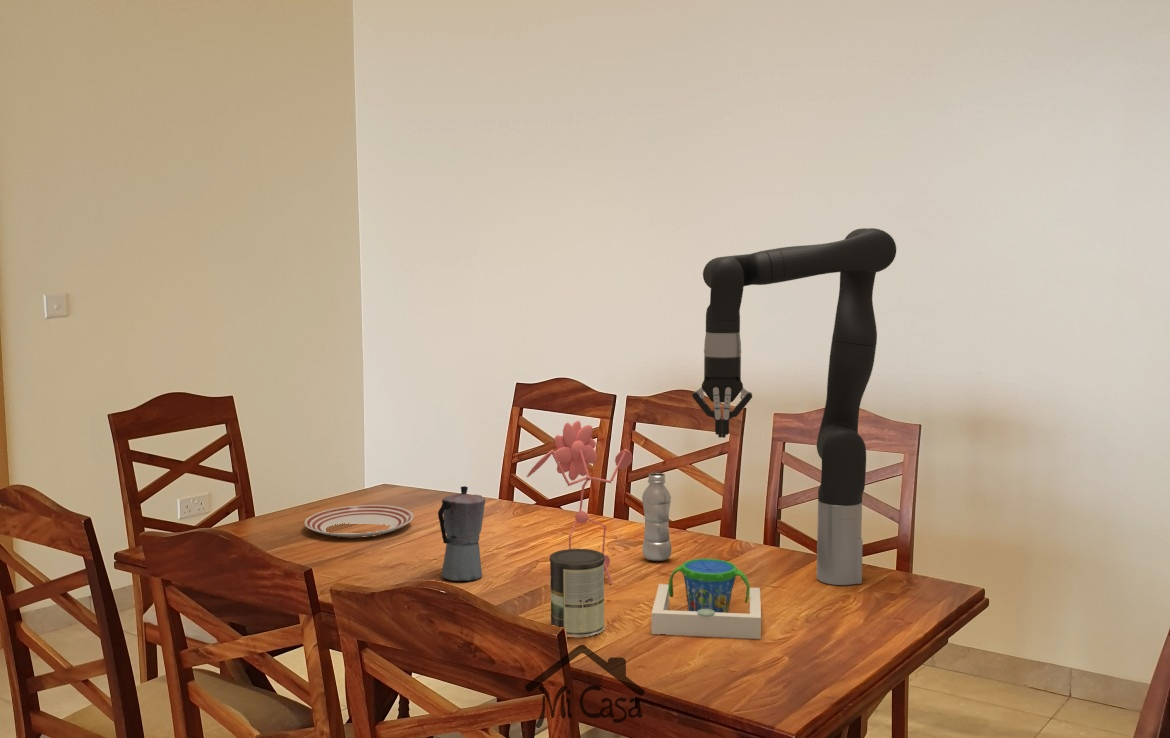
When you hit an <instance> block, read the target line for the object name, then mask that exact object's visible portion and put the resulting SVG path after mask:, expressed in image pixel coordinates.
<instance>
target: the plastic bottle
mask: <svg viewBox="0 0 1170 738" xmlns="http://www.w3.org/2000/svg"><path fill="white" fill-rule="evenodd" d="M647 483H649V484H648V486H647V487H646V488H645V489H644V491H643V493H642V496H641V500H642V507H643V513H644V514H643V516H644V536H643V542H642V555H643V556H644V558H645V560H649V561H653V562H654V561H655V562H662V561H667V560H669V558H670V557H671V554H672V543H671V539H670V529H669V520H670V519H669V518H670V509H671V508H670V507H671V502H672V501H671V499H672V496H671V494H670V491H669V490H668V488H667V486H666V485H665V483H666V474H665V473H662V472H651V473H649V474H648V480H647Z"/></svg>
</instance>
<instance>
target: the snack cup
mask: <svg viewBox="0 0 1170 738" xmlns="http://www.w3.org/2000/svg"><path fill="white" fill-rule="evenodd" d="M678 572H680V573H682V575H683V579H684V585H685V595H686V602H687V611H696V612H697V611H698V610H700V609H711V610H714V611H715V612H719V613H730V612H729V610H730V605H731V601H732V600H731V598H732V592H733V588H734V584H735V581H736V577H737V576H738V577H740V578H741V579H742V582H743V583H744V584H745V586H746V593H745V594H746V595H745V600H744V604H747V603H748V601H749V598H750V588H751V587H750V582H749V579H748V577H747V575H745V573H744V572H743V571H742V570H740V569H739V568H738V567H737V566H736V564H734V563H732V562H731V561H727V560H723V559H716V558H696V559H689V560H687V561H685V562H683V563H682V564H681V565H679V566H677V567H676V568H674V570H673V571H672V573H671V574H670V577H669V579H668V580H669V581H668V584H669V586H668V589H669V598H673V597H674V586H673V585H674V583H673V582H674V581H673V579H674V578H673V577H674V575H675V574H676V573H678Z"/></svg>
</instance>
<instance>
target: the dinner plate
mask: <svg viewBox="0 0 1170 738" xmlns="http://www.w3.org/2000/svg"><path fill="white" fill-rule="evenodd" d="M414 517H415V516H414V514H413V512H411V511H410V510H409V509H406V508H403V507H399V506H395V505H394V506H393V505H383V504H364V505H363V504H362V505H349V506H342V507H336V508H329V509H325V510H322V511H320V512H316V513H313V514H312V515H310V516H309V517H307V518H306V519H305V521H304V526H305V527H306V528H307V529H309V530H311V531H313V532H316V533H318V534H322V535H326V536H329V535H330V537H333V536H338V537H337V538H339V537H362V536H373V535H379V534H383V535H385V534H384V533H386V534H389V533H391V532H394V531H396V530H399V529H401V528H404V527H405V526H407V525H408V524H410V523H411V522H412V521H413V519H414ZM342 523H343V524H344V523H345V524H348V523H349V524H374V525H375V524H376V525H377V524H379V525H383V524H385V525H386V526H388V525H390V527H389V529H387V530H382V531H376V532H367V533H329V532H326V528H327V527H329V526H332V525H333V526H334V525H335V524H336V525H337V524H338V525H339V524H342ZM388 532H389V533H388ZM379 536H380V535H379ZM373 537H374V536H373Z"/></svg>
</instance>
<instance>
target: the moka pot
mask: <svg viewBox="0 0 1170 738" xmlns="http://www.w3.org/2000/svg"><path fill="white" fill-rule="evenodd" d="M468 488H469V487H468V486H466V485H465V486H460V492H461V493H458V494H451V495H446V496H445V497H443V498H442V500H441V502H442V504H441V507H440V508H439V509H438V512H437V516H438V520H439V526H440V531H441V537H442V543H444V544H445V553H444V558H443V563H442V569H441V577H442V578H443V579H446V580H449V581H456V582H466V581H475V580H479V579H480V578H482V577H483V571H482V562H481V551H480V543H479V542H480V535H481V532H482V529H483V527H482V526H483V519H484V513H485V507H486V506H485V504H486V498H485V497H483V496H482V495H480V494H471V493H470V494H469V493H468Z"/></svg>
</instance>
